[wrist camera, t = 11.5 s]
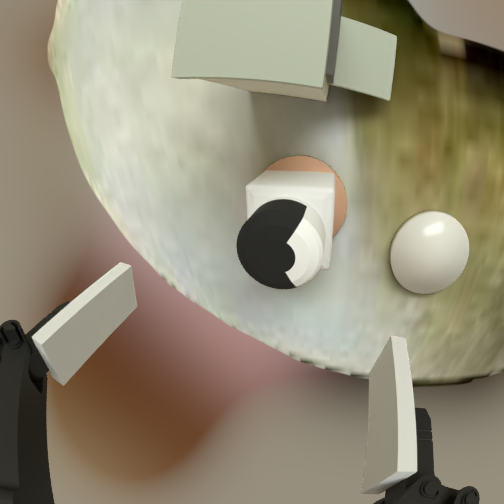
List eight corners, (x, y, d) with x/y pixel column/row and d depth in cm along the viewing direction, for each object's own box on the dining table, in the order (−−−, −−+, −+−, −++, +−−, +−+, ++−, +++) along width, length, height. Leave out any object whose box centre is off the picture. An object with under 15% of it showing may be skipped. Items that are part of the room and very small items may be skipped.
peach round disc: (355, 166, 27) (356, 168, 26) (335, 252, 32) (334, 257, 31) (261, 147, 29) (258, 148, 28) (250, 233, 34) (247, 237, 33)
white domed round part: (476, 223, 25) (480, 227, 24) (446, 295, 30) (448, 300, 29) (404, 199, 27) (406, 202, 26) (378, 278, 32) (379, 284, 31)
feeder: (394, 27, 19) (435, -37, 6) (383, 117, 24) (430, 116, 11) (258, 7, 22) (196, -58, 9) (247, 92, 26) (171, 77, 14)
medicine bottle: (266, 233, 32) (229, 294, 21) (264, 169, 29) (221, 202, 18) (331, 238, 30) (326, 306, 20) (335, 172, 27) (334, 208, 16)
